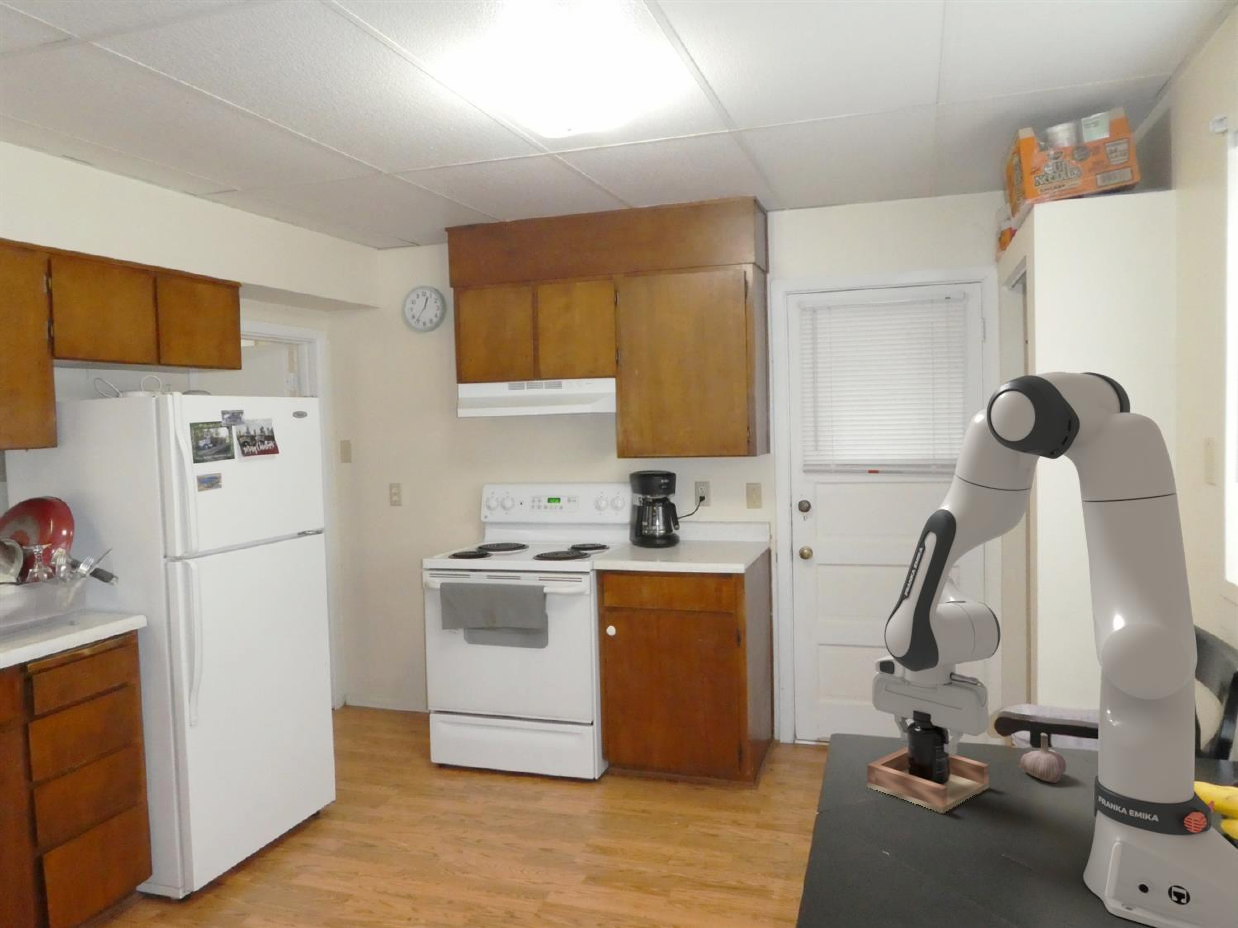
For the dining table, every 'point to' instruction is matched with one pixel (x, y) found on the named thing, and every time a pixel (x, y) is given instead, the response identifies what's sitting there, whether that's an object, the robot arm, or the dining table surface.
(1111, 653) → the robot arm
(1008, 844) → the dining table surface
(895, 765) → the open-sided tray
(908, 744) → the supplement bottle
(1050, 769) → the garlic bulb
